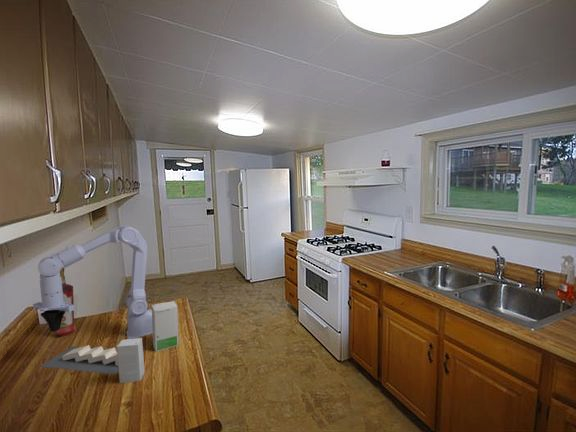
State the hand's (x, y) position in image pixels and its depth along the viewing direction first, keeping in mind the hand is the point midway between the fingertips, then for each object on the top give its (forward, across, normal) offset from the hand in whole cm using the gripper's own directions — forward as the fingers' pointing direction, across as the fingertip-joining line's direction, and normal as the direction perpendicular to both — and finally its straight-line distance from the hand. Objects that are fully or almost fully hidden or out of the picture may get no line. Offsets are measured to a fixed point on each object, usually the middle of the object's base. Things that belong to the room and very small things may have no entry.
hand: (55, 330), depth 101 cm
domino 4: (+9, +20, 0) cm, 22 cm away
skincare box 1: (+10, +34, -6) cm, 36 cm away
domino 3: (+9, +14, 0) cm, 17 cm away
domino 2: (+9, +9, 0) cm, 13 cm away
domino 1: (+9, +4, 0) cm, 10 cm away
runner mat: (+10, +14, 0) cm, 17 cm away
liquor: (+10, -13, +15) cm, 22 cm away
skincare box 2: (+10, +33, +13) cm, 37 cm away
